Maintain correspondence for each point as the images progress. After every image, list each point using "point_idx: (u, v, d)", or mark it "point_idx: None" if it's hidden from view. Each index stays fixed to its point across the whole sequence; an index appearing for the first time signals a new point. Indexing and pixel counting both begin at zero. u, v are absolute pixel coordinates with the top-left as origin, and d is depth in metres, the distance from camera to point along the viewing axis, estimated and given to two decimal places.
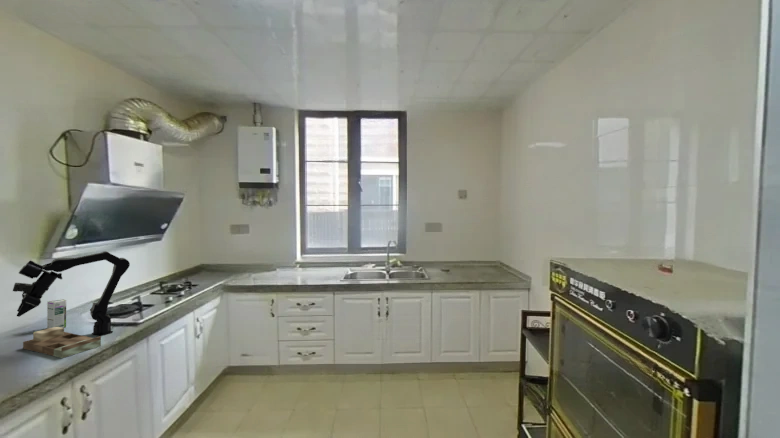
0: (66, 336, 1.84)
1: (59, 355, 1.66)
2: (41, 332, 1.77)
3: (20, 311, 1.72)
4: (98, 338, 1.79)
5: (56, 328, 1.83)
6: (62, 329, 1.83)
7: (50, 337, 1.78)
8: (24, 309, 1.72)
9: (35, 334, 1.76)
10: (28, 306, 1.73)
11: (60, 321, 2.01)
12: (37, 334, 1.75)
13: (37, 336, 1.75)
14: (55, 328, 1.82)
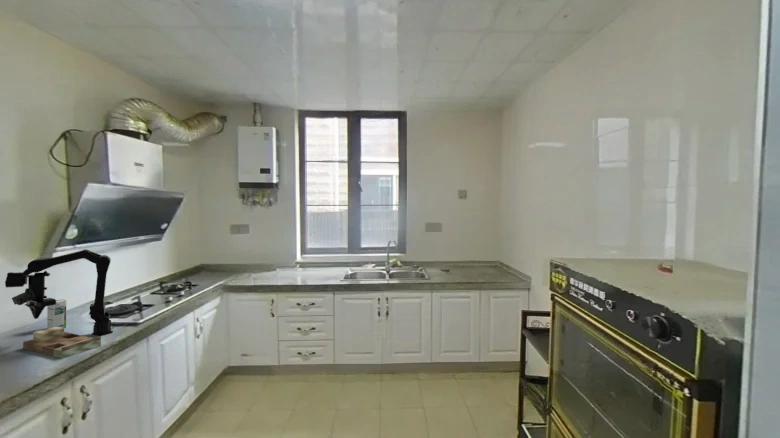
0: (66, 336, 1.84)
1: (59, 355, 1.66)
2: (41, 332, 1.77)
3: (36, 314, 1.82)
4: (98, 338, 1.79)
5: (56, 328, 1.83)
6: (62, 329, 1.83)
7: (50, 337, 1.78)
8: (38, 311, 1.82)
9: (35, 334, 1.76)
10: (39, 307, 1.83)
11: (60, 321, 2.01)
12: (37, 334, 1.75)
13: (37, 336, 1.75)
14: (55, 328, 1.82)
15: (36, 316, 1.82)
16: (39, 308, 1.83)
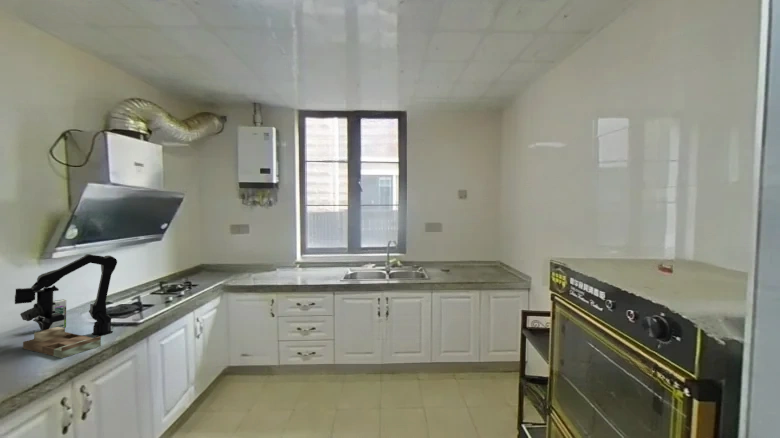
0: (66, 336, 1.84)
1: (59, 355, 1.66)
2: (42, 332, 1.77)
3: (44, 329, 1.80)
4: (98, 338, 1.79)
5: (57, 328, 1.83)
6: (63, 329, 1.83)
7: (51, 337, 1.78)
8: (46, 326, 1.81)
9: (36, 334, 1.75)
10: (48, 322, 1.81)
11: (60, 321, 2.01)
12: (38, 334, 1.75)
13: (38, 336, 1.75)
14: (56, 328, 1.82)
15: None
16: (47, 323, 1.81)
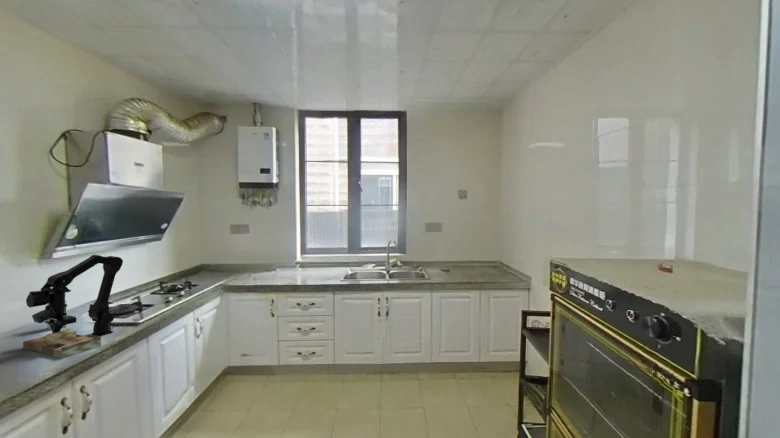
0: None
1: (59, 355, 1.66)
2: (54, 334, 1.74)
3: (55, 331, 1.78)
4: (98, 338, 1.79)
5: (68, 330, 1.80)
6: (74, 332, 1.80)
7: (63, 340, 1.76)
8: (57, 328, 1.78)
9: (48, 337, 1.73)
10: (59, 324, 1.78)
11: None
12: (50, 337, 1.73)
13: (50, 338, 1.73)
14: (67, 330, 1.80)
15: None
16: (58, 325, 1.78)
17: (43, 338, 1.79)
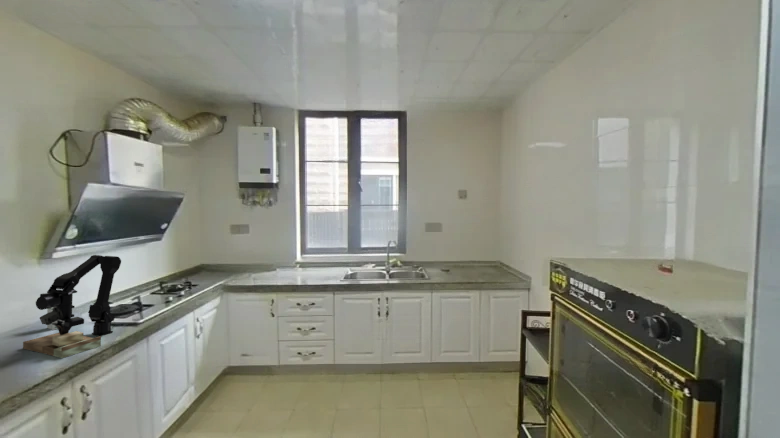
0: None
1: (59, 355, 1.66)
2: (60, 336, 1.72)
3: (63, 333, 1.76)
4: (98, 338, 1.79)
5: (76, 332, 1.78)
6: (81, 334, 1.78)
7: (69, 342, 1.73)
8: (65, 330, 1.76)
9: (54, 339, 1.71)
10: (67, 326, 1.77)
11: None
12: (56, 339, 1.71)
13: (56, 340, 1.71)
14: (75, 333, 1.78)
15: None
16: (66, 327, 1.77)
17: (43, 338, 1.79)
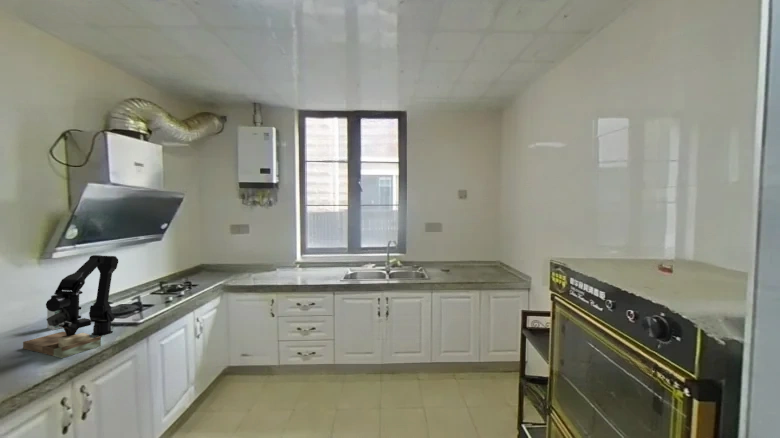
0: (66, 336, 1.84)
1: (59, 355, 1.66)
2: (66, 338, 1.71)
3: (70, 335, 1.75)
4: (98, 338, 1.79)
5: (82, 334, 1.76)
6: (87, 336, 1.76)
7: None
8: (72, 331, 1.75)
9: (60, 340, 1.70)
10: (74, 327, 1.75)
11: None
12: (62, 340, 1.69)
13: (62, 342, 1.69)
14: (81, 334, 1.76)
15: None
16: (73, 329, 1.75)
17: (43, 338, 1.79)
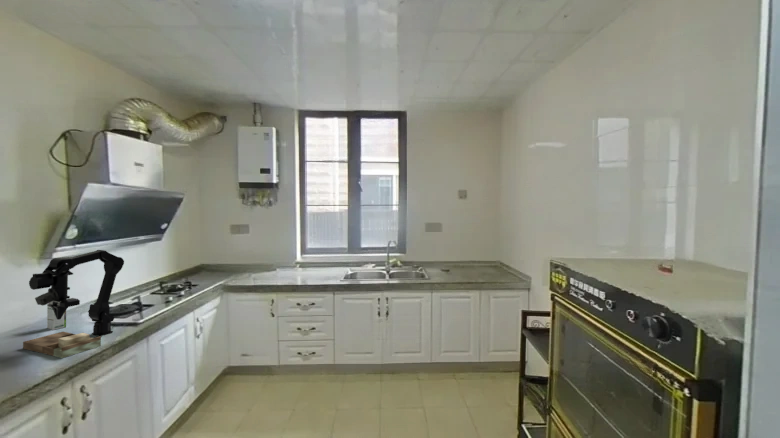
0: (66, 336, 1.84)
1: (59, 355, 1.66)
2: (66, 338, 1.71)
3: (59, 314, 1.77)
4: (98, 338, 1.79)
5: (82, 334, 1.76)
6: (87, 336, 1.76)
7: None
8: (61, 311, 1.77)
9: (60, 340, 1.70)
10: (62, 307, 1.78)
11: (60, 321, 2.01)
12: (62, 340, 1.69)
13: (62, 342, 1.69)
14: (81, 334, 1.76)
15: (59, 317, 1.77)
16: (62, 308, 1.78)
17: (43, 338, 1.79)
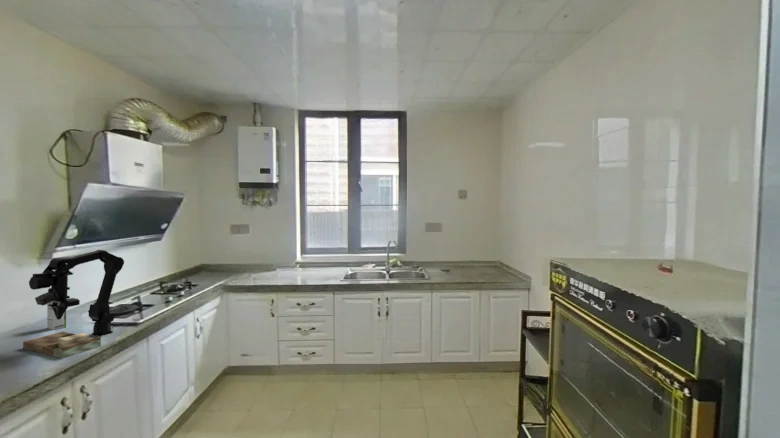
0: (66, 336, 1.84)
1: (59, 355, 1.66)
2: (66, 338, 1.71)
3: (59, 314, 1.77)
4: (98, 338, 1.79)
5: (82, 334, 1.76)
6: (87, 336, 1.76)
7: None
8: (61, 311, 1.77)
9: (60, 340, 1.70)
10: (62, 307, 1.78)
11: (60, 321, 2.01)
12: (62, 340, 1.69)
13: (62, 342, 1.69)
14: (81, 334, 1.76)
15: (59, 317, 1.77)
16: (62, 308, 1.78)
17: (43, 338, 1.79)
